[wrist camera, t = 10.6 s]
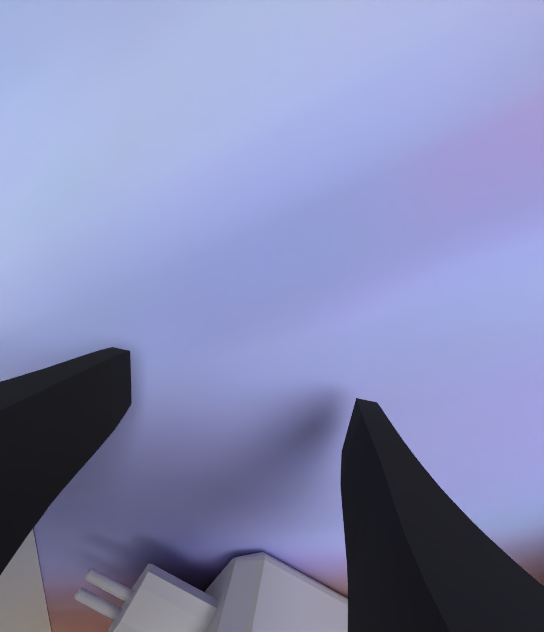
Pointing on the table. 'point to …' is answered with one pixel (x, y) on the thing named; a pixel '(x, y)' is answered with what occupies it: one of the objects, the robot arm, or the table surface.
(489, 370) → the table surface
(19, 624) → the box
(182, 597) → the charger
